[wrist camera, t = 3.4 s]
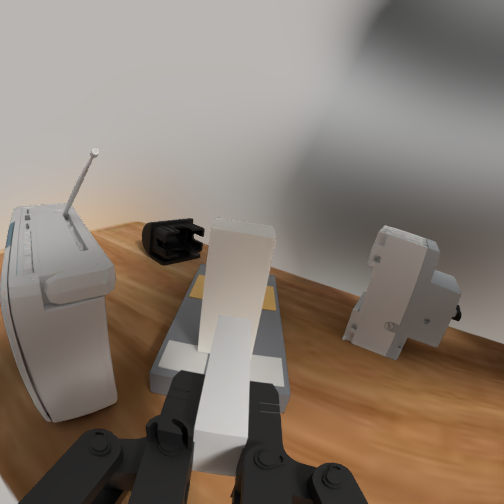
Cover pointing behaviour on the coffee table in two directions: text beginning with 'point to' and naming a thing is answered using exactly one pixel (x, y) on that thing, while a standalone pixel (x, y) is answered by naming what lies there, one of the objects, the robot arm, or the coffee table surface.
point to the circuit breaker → (403, 296)
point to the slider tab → (235, 275)
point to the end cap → (172, 241)
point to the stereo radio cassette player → (58, 309)
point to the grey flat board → (189, 359)
